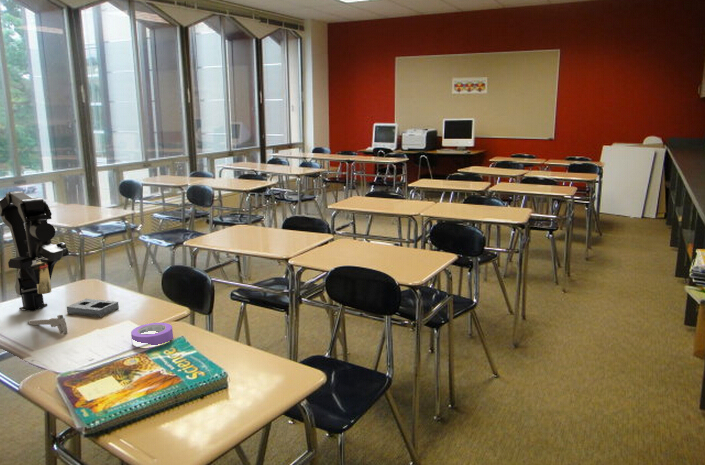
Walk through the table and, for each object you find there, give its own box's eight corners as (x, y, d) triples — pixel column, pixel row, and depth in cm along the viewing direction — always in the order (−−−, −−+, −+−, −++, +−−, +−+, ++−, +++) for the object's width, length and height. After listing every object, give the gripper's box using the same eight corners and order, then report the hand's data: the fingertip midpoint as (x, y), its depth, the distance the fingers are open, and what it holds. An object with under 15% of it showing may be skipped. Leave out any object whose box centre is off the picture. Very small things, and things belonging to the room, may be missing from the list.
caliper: (67, 333, 168) (65, 315, 167) (64, 335, 167) (61, 316, 166) (30, 323, 178) (28, 305, 177) (27, 324, 177) (24, 306, 176)
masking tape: (138, 334, 167) (137, 323, 166) (176, 332, 168) (175, 321, 167) (127, 350, 155) (125, 338, 154) (168, 348, 156) (167, 335, 156)
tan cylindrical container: (34, 293, 177) (30, 264, 175) (45, 289, 181) (41, 261, 179) (44, 294, 176) (40, 265, 174) (54, 290, 180) (50, 262, 178)
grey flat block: (67, 313, 186) (66, 306, 185) (87, 304, 194) (86, 298, 193) (100, 317, 181) (99, 310, 181) (118, 308, 190) (118, 301, 189)
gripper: (30, 244, 164) (37, 292, 167) (78, 232, 181) (84, 276, 184) (3, 242, 167) (11, 289, 170) (53, 230, 184) (59, 273, 188)
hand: (43, 282), depth 178 cm, fingers closed on tan cylindrical container, 4 cm apart
